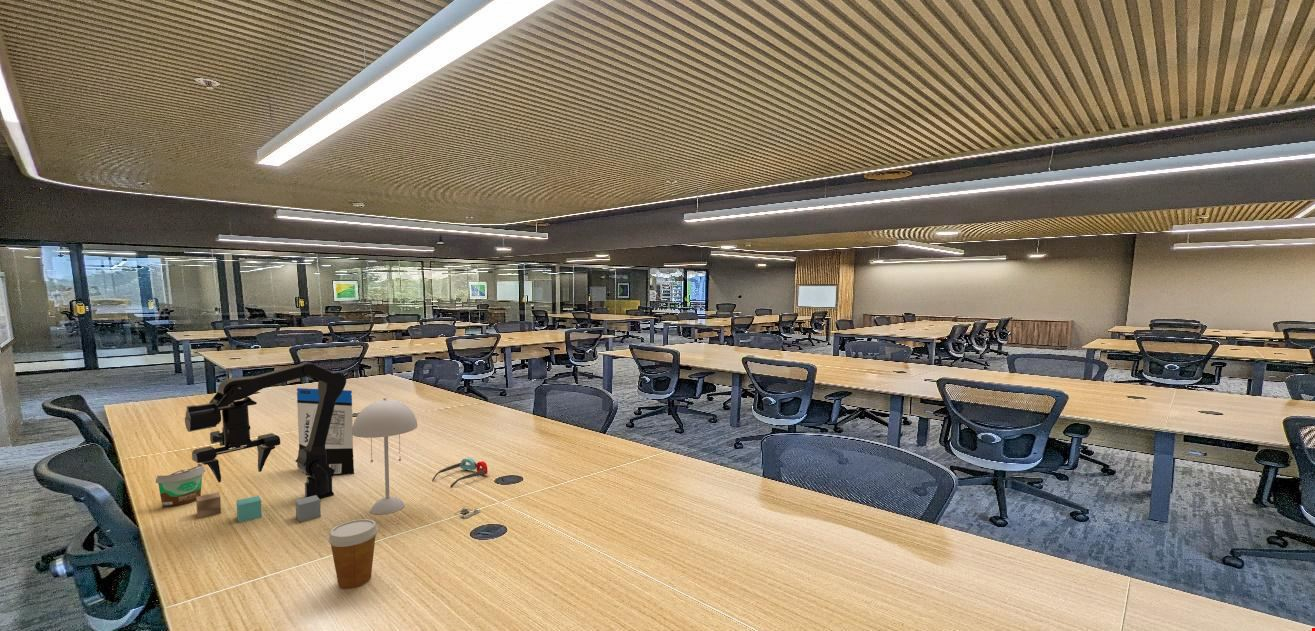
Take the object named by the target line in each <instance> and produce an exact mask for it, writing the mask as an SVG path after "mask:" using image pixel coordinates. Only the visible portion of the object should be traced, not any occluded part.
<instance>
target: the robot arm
mask: <svg viewBox="0 0 1315 631" xmlns="http://www.w3.org/2000/svg"><path fill="white" fill-rule="evenodd" d="M305 377H308V378H309V379H311V380H312V381H315V382H318V384H317V389H318V393H319V403H318V407H317V411H316V415H315V419H314V423H313V427H312V431H311V434H310V438H309V442H308V445H307V446H306V447H305V449H299V448H298V452H297V457H296V459H295V461H294V462H295V463H297V464H296V466H297V469H298V470H299V471H301V473H303V472H304V473H303V474H304V475H305V476H307V477H306V482H305V483H304V495H305V498H306V497H310V496H314V495H317V497H318V498H319V499H322V498H327V497H331V496H334V495H335V493H334V492H333V477H334V476H333V475H334V472H335V470H334V469H332V468H331V467H329V466H327V465H326V458H327V455H326V449H325V443H326V439H327V435H328V431H329V427H330V423H331V419H332V415H333V411H334V407H335V402H336V400H337V399H338V397H339V396H340V395H341V393H342V392H343V390H344V389H345V387H346V385H347V377H346V376H345V375H344V374H343V373H340V372H337V371H330V370H327V369H324V368H322V367H320V366H317V365H315V364H314V363H312V362H308V361H305V362H304V361H302V362H301V363H299V364H296V365H292V366H288V367H283V368H280V369H277V370H273V371H269V372H266V373H262V374H258V375H250V376H240V377H239V376H238V377H231V378H227V379H224V380H222V381H221V382H220V384H218V386H217V392H216V393H215V395H214V396H213V397H212V398H211V399H210V401H209V403H204V404H197V405H196V404H194V405H187V406H186V411H185V417H184V424H185V428H186V431H187V432H188V433H190V432H196V431H200V430H205V429H211V428H216V427H217V425H220V423H221V422H222V429H221V431H222V432H220V430H216V431H210V432H209V440H210V443H211V445H212V444H213V445H214V444H218V443H219V446H220V447H217V448H214V447H213V446H211V445H208V446H205V447H200V448H199V447H198V448H195V449H194V450H193V451H191V459H192V461H194V462H195V463H197V464H202V465H203V466H204V465H207V466H208V468H210V470H211V472H212V474H213V475H214V477H215V479H216V481H217V483H222V474H221V468H220V460H218V459H217V457H218V456H219V455H223V454H227V453H232V452H237V451H241V450H246V449H250V448H254V447H255V448H256V449H257V469H258V470H257V471H258V472H259V473H261V472H262V471H263V468H264V466H265V463H266V462H267V459H268V457H269V456H270V454H271V451H272V450H274V449H276V446H280V445H281V437H280V436H279V435H277V434H276V433H272V432H270V433H266V434H261V435H258V436H257V439H254V440H253V439H251V433H250V432H251V431H250V430H251V425H250V418H249V406H254V405H257V404H258V402H257V401H254V400H253V399H252V398H251V397H250V396H252V395H254V394H256V393H258V392H260V391H261V390H264V389H266V388H269V387H273V386H276V385H280V384H284V383H286V382H290V381H293V380H297V379H300V378H305Z"/></svg>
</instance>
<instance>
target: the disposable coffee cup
mask: <svg viewBox="0 0 1315 631" xmlns="http://www.w3.org/2000/svg"><path fill="white" fill-rule="evenodd" d="M378 530H379V527H378V525H377V523H376V521H375V520H373V519H370V518H369V519H367V518H363V519H354V520H349V521H345V522H343V523H340V524H338V525H336V526H335V527H333V528H332V529H331V530H330V532H329V535H328V537H327V541H328V542H329V545H330V547H331V554H332V558H333V563H334V564H333V565H334V570H335V573H336V574H335V575H336V580H337V585H338V588H341V589H352V588H353V589H354V588H358V587H360V586H362V585H364V584H366V583H367V582H369V581H370V580H371V578H372V572H373V561H374V555H375V552H374V551H375V544H376V538H377V537H376V536H377V533H378Z"/></svg>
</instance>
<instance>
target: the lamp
mask: <svg viewBox="0 0 1315 631" xmlns="http://www.w3.org/2000/svg"><path fill="white" fill-rule="evenodd" d="M417 420H418V419H417V417H416V415H415V413H414V412H413V410H412V409H411V408H410V407H409V406H408V405H407V404H405V403H404V402H401V401H399V400H395V399H389V398H388V399H387V397H383V399H380V400H377V401H373V402H371V403H369V404H368V405H365V407H363V408H362V410H360V412H359V413H358V414H357V416H356V417H355V419H354V420H353V428H352V435H353V437H355V438H362V439H365V438H366V439H368V438H370V451H371V452H370V455H371V457H373V446H372V444H373V443H372V441H373V439H374V438H375V439H376V438H383V444H384V445H383V451H384V452H383V455H384V481H385V482H384V488H385V497H383V498H380V499H379V500H377V501H376V502H375V503H374V504H373V505H372V506H371V508H370V510H369V512H370V514H373V515H387V514H391V513H395V512H398V511H400V510H402V509H403V508H405V505H406V504H405V502H404V501H403V500H402V499H400V498H398V497H396V496H390V468H389V467H390V466H389V465H390V464H389V459H390V458H389V437H393V436H397V435H398V439H399V441H398V443H399V446H398V447H399V452H401V437H400V435H403V434H406V433H410V432H413V431H414V430H416V429H417V428H418V421H417ZM372 438H373V439H372ZM398 461H399V462H401V461H402V458H401V457H399V458H398ZM369 462H370V463H374V460H373V459H370V461H369Z"/></svg>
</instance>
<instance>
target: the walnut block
mask: <svg viewBox="0 0 1315 631" xmlns="http://www.w3.org/2000/svg"><path fill="white" fill-rule="evenodd" d="M195 502H196V503H195V504H196V515H197V516H196V517H197V519H203V518H207V517H210V516H215V515H218V514H220V515H221V514H222V508H221V507H222V505H221V502H222V500H221V494H220V492H219V491H217V492H213V493H207V494H203V495H202V494H201V496H198V497H196V501H195Z"/></svg>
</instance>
